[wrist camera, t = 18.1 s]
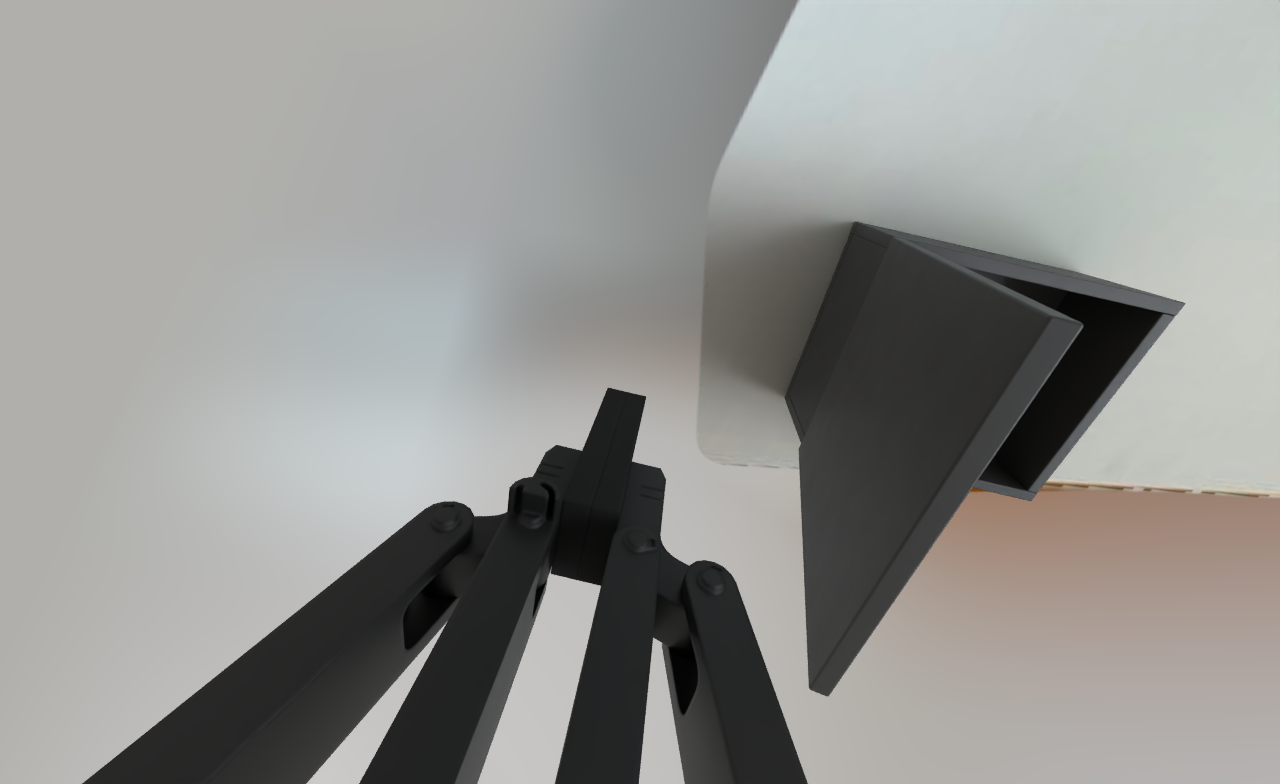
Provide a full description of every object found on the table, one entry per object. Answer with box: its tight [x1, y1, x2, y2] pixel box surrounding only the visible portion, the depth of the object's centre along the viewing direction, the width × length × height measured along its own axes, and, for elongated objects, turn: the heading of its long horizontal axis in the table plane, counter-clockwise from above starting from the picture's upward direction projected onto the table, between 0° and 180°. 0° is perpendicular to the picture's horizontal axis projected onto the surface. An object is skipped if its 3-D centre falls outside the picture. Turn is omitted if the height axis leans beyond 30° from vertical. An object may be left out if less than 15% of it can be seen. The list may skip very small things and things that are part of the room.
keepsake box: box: [785, 222, 1185, 501], centre depth 35 cm, size 18×16×8 cm
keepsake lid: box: [799, 237, 1083, 696], centre depth 22 cm, size 19×16×1 cm
